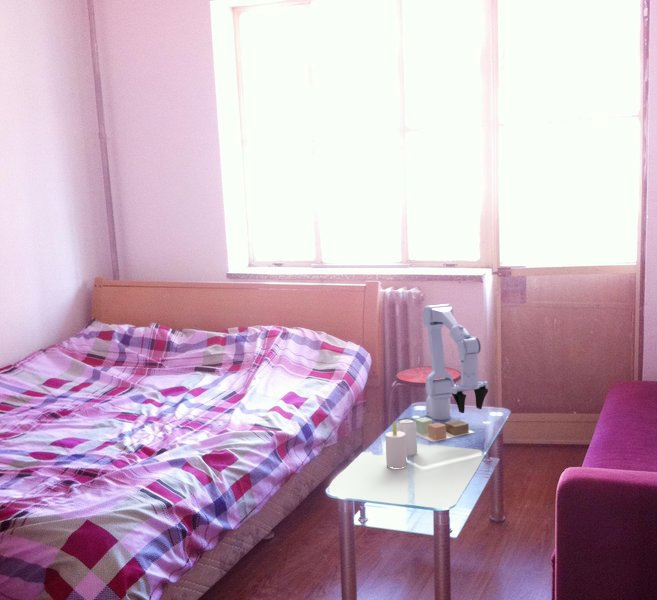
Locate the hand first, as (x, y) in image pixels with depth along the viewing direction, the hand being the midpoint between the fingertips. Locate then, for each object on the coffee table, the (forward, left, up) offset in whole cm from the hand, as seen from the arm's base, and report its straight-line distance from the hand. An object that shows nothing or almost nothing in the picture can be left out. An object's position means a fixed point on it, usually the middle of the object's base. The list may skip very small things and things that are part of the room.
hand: (470, 410), depth 268 cm
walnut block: (-5, -2, -9) cm, 11 cm away
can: (+3, -28, -10) cm, 30 cm away
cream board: (-8, -6, -10) cm, 14 cm away
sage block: (-12, -11, -9) cm, 19 cm away
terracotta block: (-4, -11, -9) cm, 15 cm away
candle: (+9, -36, -10) cm, 38 cm away
